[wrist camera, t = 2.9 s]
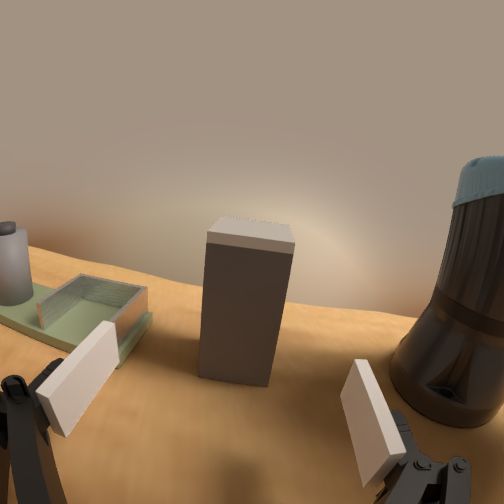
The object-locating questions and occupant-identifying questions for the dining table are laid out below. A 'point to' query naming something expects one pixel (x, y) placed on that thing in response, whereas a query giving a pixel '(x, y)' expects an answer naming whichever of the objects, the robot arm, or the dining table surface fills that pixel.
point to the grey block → (243, 298)
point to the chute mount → (99, 291)
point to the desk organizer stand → (28, 293)
